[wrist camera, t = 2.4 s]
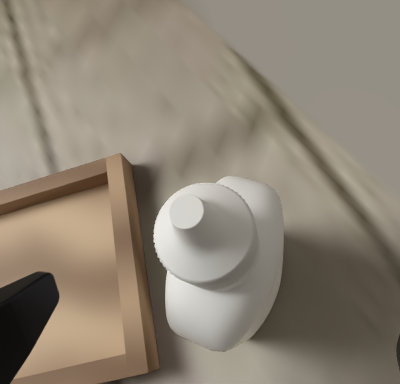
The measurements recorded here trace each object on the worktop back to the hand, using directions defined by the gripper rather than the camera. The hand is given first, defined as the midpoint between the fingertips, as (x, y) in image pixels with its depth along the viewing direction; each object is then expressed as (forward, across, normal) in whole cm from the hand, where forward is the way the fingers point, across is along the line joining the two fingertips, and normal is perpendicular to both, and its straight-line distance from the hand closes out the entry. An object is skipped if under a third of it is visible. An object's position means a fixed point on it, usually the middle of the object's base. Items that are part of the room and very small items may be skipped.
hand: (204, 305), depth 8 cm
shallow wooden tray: (+7, +12, +6) cm, 15 cm away
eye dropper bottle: (+8, 0, +6) cm, 9 cm away
